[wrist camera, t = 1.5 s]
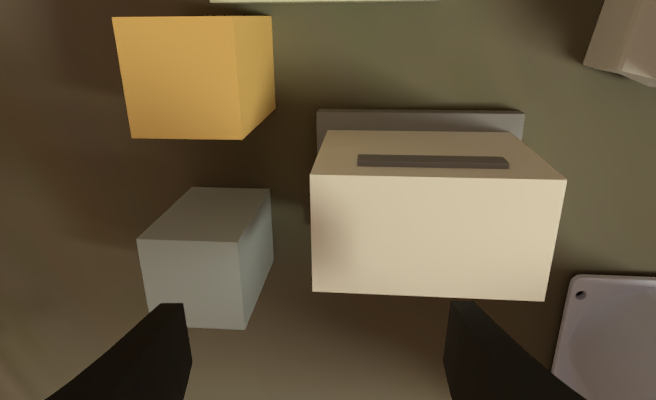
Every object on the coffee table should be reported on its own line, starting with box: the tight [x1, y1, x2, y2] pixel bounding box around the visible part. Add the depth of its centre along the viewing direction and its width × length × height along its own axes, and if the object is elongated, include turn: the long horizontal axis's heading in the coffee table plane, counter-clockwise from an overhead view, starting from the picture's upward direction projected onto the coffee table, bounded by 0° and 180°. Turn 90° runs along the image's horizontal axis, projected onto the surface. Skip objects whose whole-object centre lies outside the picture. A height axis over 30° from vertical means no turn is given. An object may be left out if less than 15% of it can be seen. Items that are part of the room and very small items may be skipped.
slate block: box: [136, 187, 274, 330], centre depth 21 cm, size 4×4×6 cm
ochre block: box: [112, 16, 276, 140], centre depth 18 cm, size 4×4×6 cm
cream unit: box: [310, 109, 567, 302], centre depth 19 cm, size 6×9×7 cm, turn 91°
